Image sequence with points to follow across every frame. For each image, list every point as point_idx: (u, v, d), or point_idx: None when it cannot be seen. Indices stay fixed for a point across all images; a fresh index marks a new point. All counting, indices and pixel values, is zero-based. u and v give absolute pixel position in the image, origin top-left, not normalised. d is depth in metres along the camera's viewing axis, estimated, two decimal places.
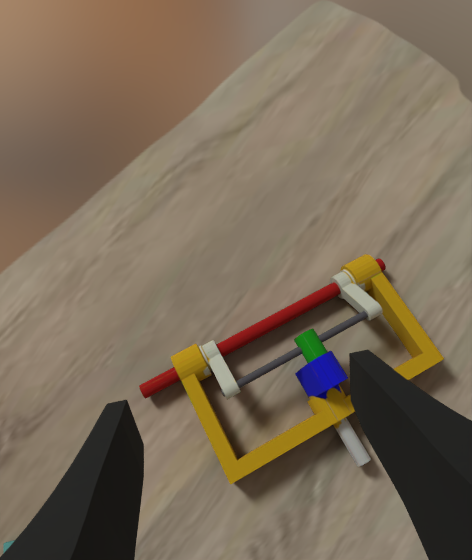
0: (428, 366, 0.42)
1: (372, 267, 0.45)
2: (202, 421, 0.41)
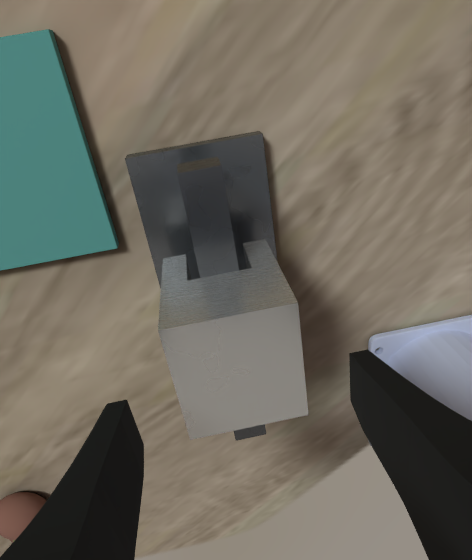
0: None
1: None
2: None
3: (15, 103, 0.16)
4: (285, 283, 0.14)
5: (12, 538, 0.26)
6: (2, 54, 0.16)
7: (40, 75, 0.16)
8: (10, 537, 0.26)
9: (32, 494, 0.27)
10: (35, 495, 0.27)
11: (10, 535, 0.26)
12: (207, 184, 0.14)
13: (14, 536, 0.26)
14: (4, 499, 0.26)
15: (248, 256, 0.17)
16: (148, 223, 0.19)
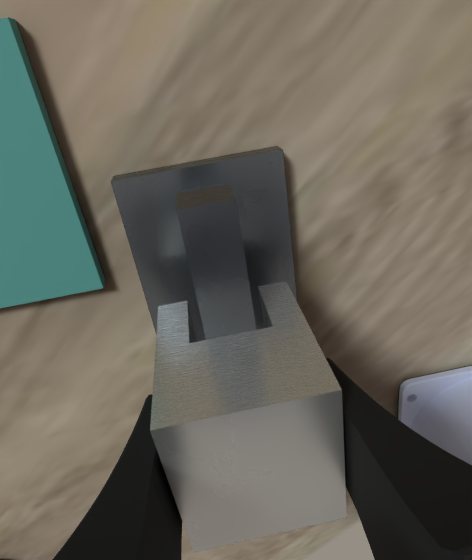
0: None
1: None
2: None
3: None
4: (320, 354, 0.11)
5: None
6: None
7: None
8: None
9: None
10: None
11: None
12: (216, 224, 0.10)
13: None
14: None
15: (266, 307, 0.13)
16: (140, 259, 0.15)
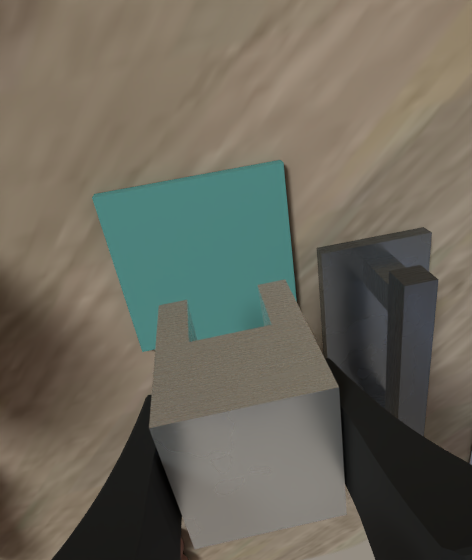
0: None
1: None
2: None
3: (245, 216, 0.20)
4: (318, 352, 0.11)
5: None
6: (244, 181, 0.20)
7: (269, 195, 0.20)
8: None
9: None
10: None
11: None
12: (424, 293, 0.18)
13: None
14: None
15: (265, 306, 0.13)
16: (328, 301, 0.23)
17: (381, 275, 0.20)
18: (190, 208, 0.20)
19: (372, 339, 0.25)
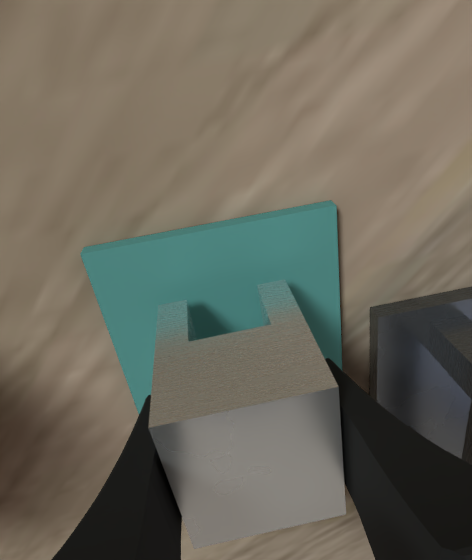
0: None
1: None
2: None
3: (283, 273, 0.15)
4: (317, 352, 0.11)
5: None
6: (284, 230, 0.15)
7: (315, 246, 0.15)
8: None
9: None
10: None
11: None
12: None
13: None
14: None
15: (265, 305, 0.13)
16: (382, 372, 0.18)
17: (462, 351, 0.15)
18: (211, 265, 0.15)
19: (433, 414, 0.20)
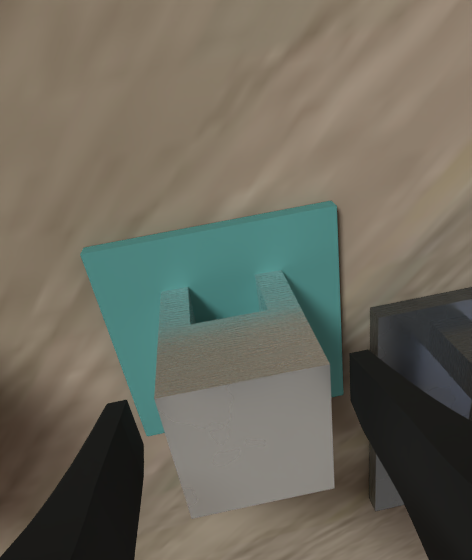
0: None
1: None
2: None
3: (283, 273, 0.15)
4: (311, 334, 0.12)
5: None
6: (284, 230, 0.15)
7: (316, 247, 0.15)
8: None
9: None
10: None
11: None
12: None
13: None
14: None
15: (262, 293, 0.14)
16: None
17: (463, 351, 0.15)
18: (211, 265, 0.15)
19: None
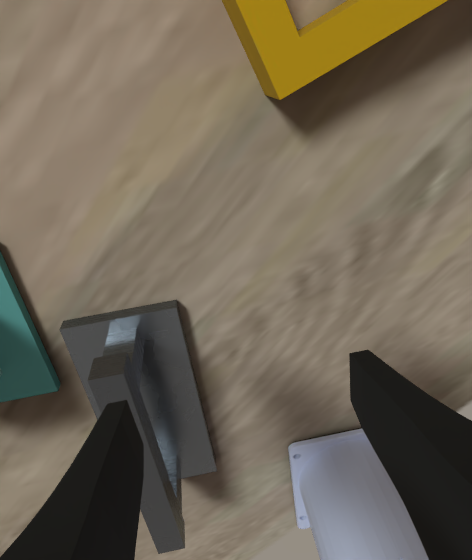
0: None
1: None
2: None
3: None
4: None
5: None
6: None
7: None
8: None
9: None
10: None
11: None
12: (113, 386, 0.17)
13: None
14: None
15: None
16: (83, 373, 0.22)
17: None
18: None
19: None
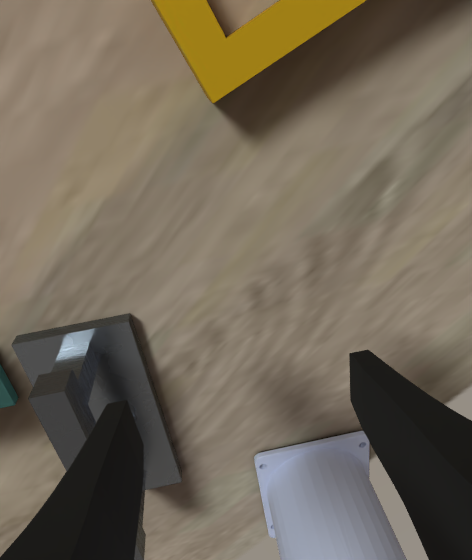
0: None
1: None
2: None
3: None
4: None
5: None
6: None
7: None
8: None
9: None
10: None
11: None
12: (55, 403, 0.17)
13: None
14: None
15: None
16: None
17: None
18: None
19: None
